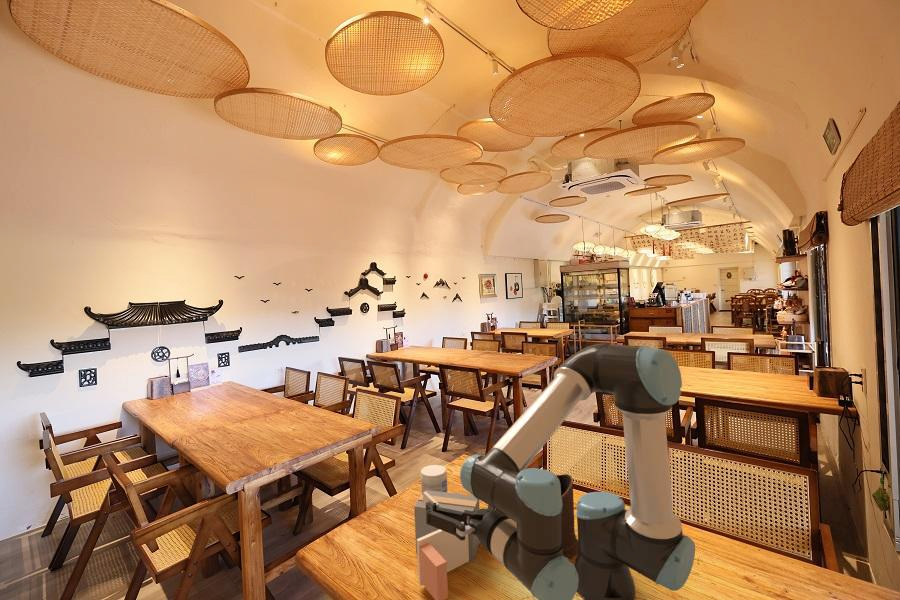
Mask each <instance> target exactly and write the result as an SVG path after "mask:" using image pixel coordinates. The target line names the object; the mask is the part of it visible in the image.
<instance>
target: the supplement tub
mask: <svg viewBox="0 0 900 600" xmlns="http://www.w3.org/2000/svg"><path fill="white" fill-rule="evenodd" d="M447 476H448V473H447V469H446V467H445V466H443V465H440V464H430V465H427V466H424V467H423V468H421V470H420V488H421V494H422V495H423V492H425V490H430V491H439V492H447V493H449V492H448V477H447Z"/></svg>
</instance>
